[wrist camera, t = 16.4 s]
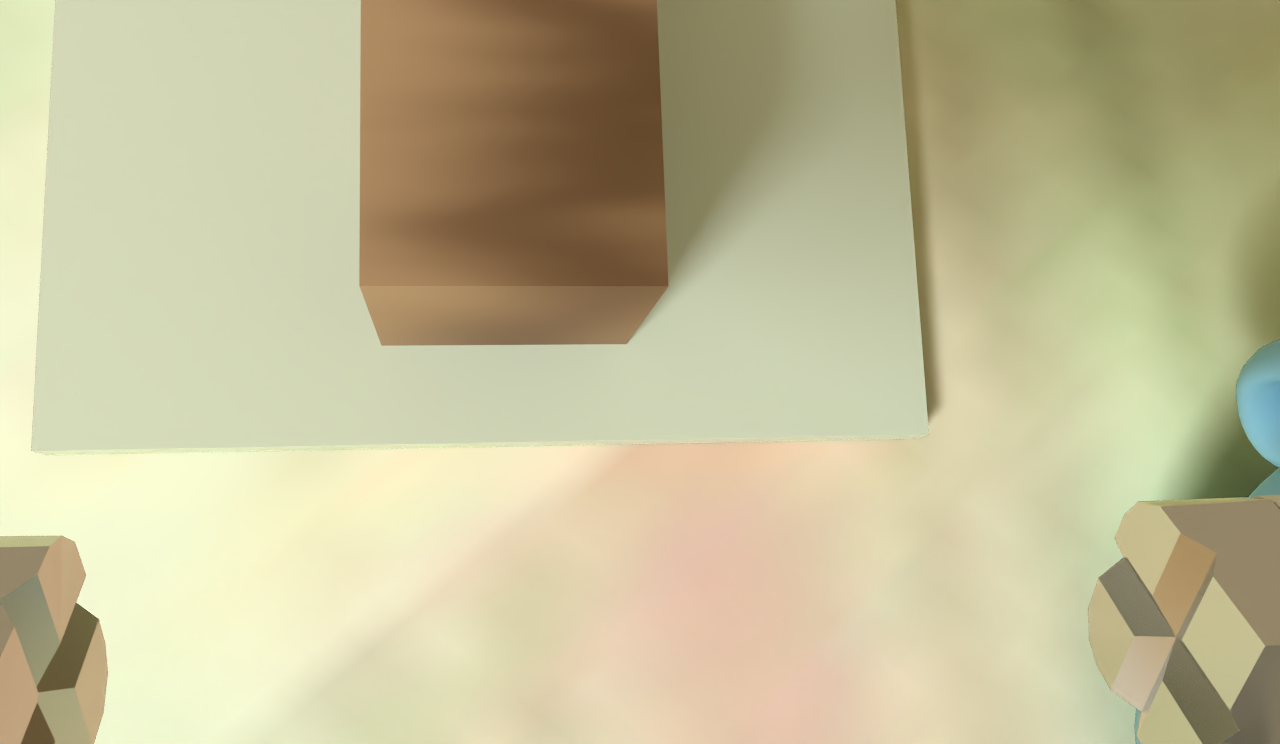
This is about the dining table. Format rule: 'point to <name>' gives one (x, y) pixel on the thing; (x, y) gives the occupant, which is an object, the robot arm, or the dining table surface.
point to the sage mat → (462, 374)
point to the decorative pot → (1258, 419)
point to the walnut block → (510, 171)
